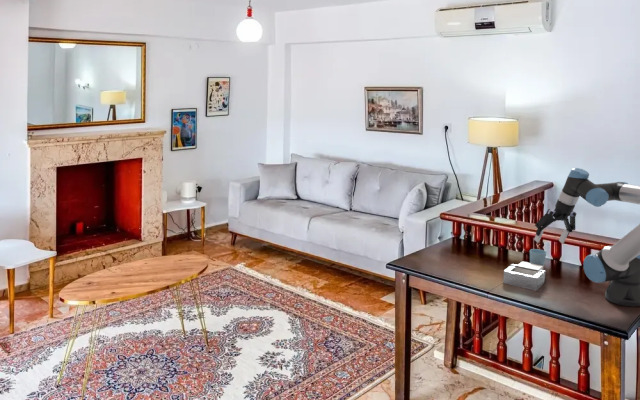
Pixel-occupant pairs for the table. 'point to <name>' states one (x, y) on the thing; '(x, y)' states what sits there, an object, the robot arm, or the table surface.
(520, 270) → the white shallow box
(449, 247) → the table surface
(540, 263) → the cup
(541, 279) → the white rectangular box
